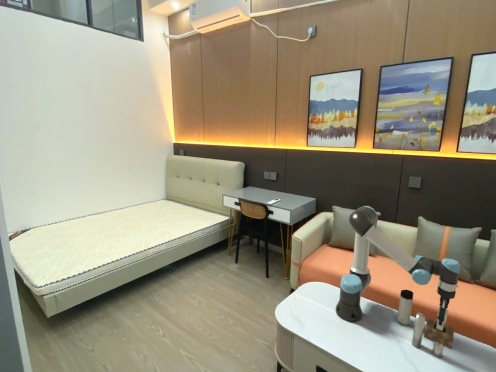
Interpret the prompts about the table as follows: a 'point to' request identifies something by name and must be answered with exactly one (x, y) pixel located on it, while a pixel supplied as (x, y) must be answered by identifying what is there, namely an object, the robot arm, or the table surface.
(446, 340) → the hole block
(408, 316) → the travel mug
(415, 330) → the pin long
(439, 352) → the pin short
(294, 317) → the table surface
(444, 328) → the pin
